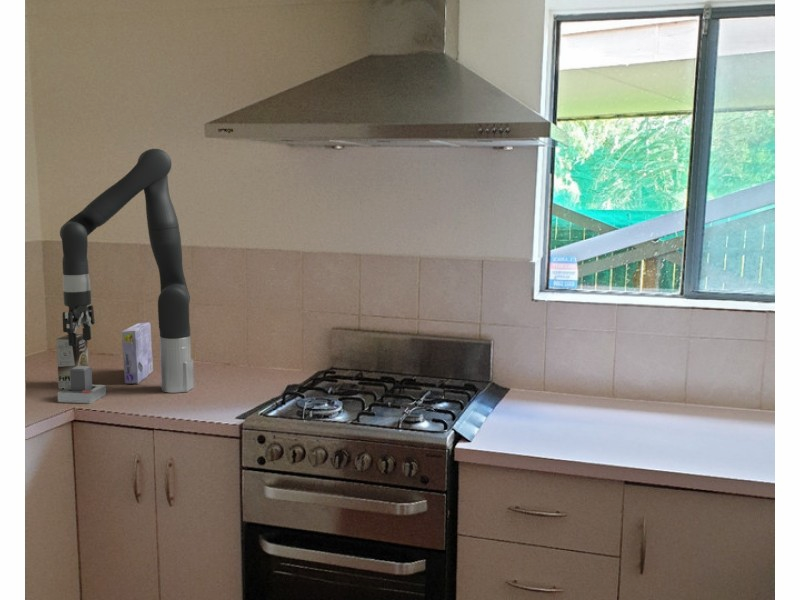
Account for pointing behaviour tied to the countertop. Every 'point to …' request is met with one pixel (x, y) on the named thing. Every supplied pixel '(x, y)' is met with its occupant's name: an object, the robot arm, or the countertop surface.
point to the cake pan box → (137, 352)
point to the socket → (82, 394)
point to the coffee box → (70, 358)
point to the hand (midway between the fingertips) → (80, 342)
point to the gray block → (81, 378)
